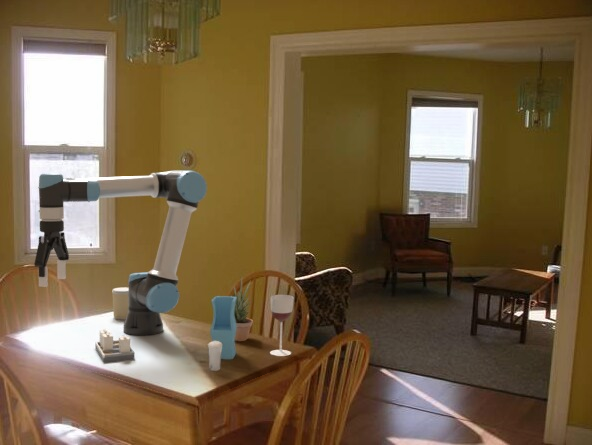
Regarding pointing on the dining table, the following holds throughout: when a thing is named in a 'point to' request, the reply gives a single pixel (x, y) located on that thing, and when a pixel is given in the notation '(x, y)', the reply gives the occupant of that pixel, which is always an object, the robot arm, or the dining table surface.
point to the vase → (224, 324)
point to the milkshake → (214, 355)
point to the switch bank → (113, 353)
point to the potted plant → (242, 315)
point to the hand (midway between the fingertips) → (52, 282)
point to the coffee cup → (120, 302)
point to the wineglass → (281, 316)
